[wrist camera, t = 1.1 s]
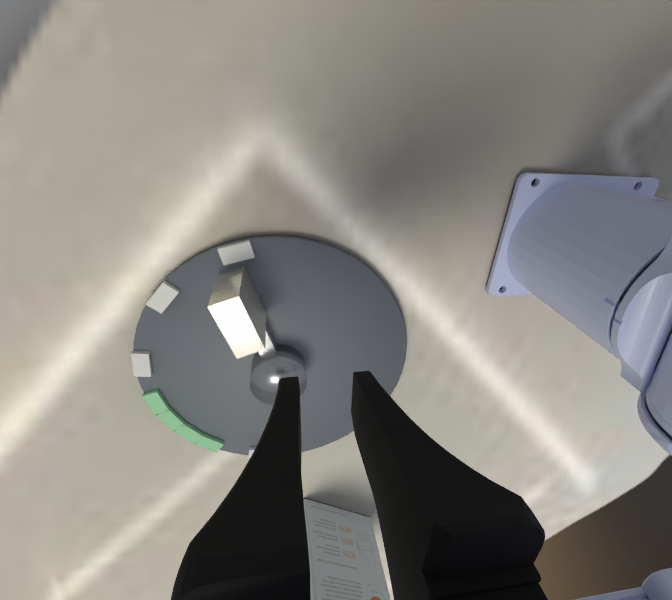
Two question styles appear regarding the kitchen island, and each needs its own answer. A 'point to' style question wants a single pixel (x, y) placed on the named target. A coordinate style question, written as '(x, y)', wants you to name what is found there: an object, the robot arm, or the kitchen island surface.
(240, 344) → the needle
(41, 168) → the kitchen island surface
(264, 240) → the dial
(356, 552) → the small box
